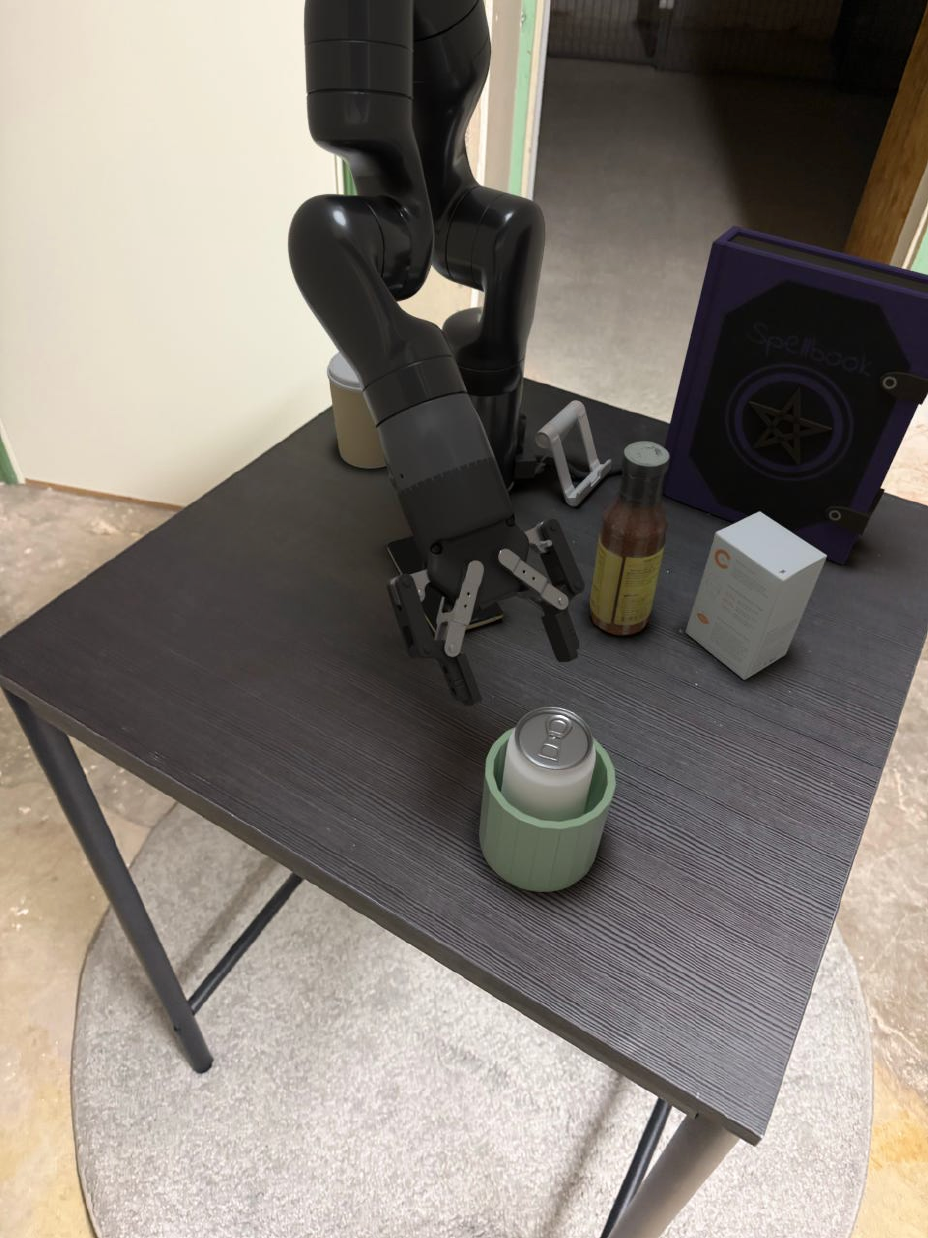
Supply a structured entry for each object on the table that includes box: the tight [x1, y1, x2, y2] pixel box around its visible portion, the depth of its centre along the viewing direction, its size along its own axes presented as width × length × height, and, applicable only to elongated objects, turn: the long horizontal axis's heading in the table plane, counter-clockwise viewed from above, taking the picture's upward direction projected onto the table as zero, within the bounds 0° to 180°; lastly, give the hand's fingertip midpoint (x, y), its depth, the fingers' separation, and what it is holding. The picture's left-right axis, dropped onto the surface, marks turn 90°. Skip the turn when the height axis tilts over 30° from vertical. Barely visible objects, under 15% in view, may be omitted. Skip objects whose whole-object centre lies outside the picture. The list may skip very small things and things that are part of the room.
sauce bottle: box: [589, 440, 670, 637], centre depth 82 cm, size 7×6×20 cm
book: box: [662, 225, 928, 566], centre depth 92 cm, size 24×6×30 cm, turn 56°
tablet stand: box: [533, 399, 613, 508], centre depth 103 cm, size 9×8×8 cm
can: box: [501, 706, 596, 822], centre depth 66 cm, size 6×6×12 cm
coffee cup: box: [326, 351, 387, 469], centre depth 105 cm, size 9×9×12 cm
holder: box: [478, 726, 617, 893], centre depth 67 cm, size 10×10×9 cm
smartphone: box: [386, 535, 504, 634], centre depth 91 cm, size 7×1×15 cm
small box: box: [685, 512, 827, 681], centre depth 83 cm, size 8×6×13 cm
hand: (522, 681), depth 63 cm, fingers open, 8 cm apart
